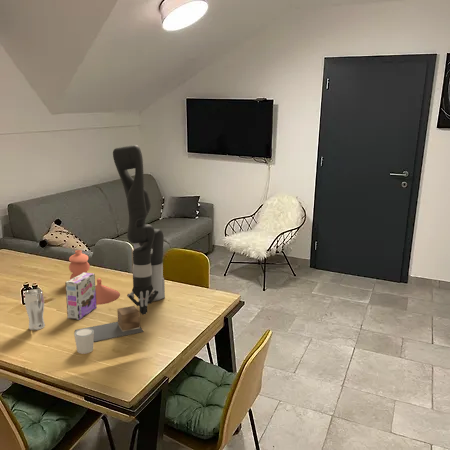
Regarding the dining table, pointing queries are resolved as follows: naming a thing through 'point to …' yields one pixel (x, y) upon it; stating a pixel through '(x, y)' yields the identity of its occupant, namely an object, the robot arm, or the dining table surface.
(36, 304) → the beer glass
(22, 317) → the dining table surface
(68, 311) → the candy box
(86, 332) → the shot glass
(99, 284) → the ceramic vessels
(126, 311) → the walnut cube
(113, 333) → the placemat
